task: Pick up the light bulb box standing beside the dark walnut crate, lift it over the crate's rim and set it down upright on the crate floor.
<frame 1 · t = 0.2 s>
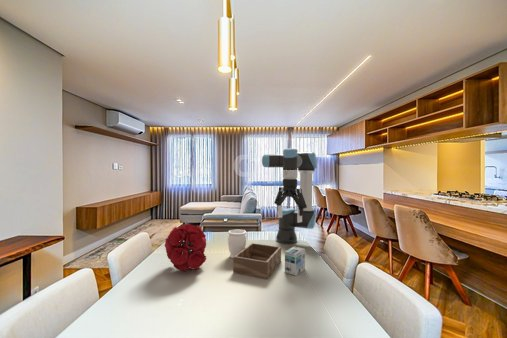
hand: (289, 219, 121), 26 cm above the table, tool pointing down, fingers open, 13 cm apart
jar: (236, 256, 139), on the table
walnut crate: (258, 266, 125), on the table
bouquet: (188, 266, 125), on the table
light bulb box: (294, 271, 121), on the table
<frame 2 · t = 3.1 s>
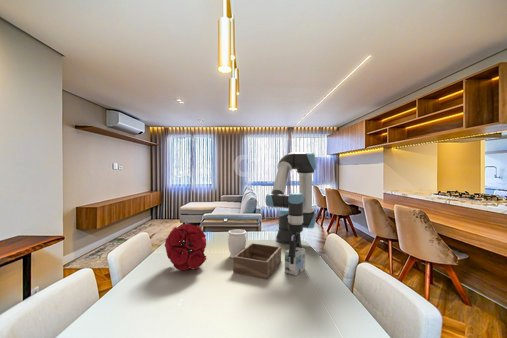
hand: (295, 265, 121), 3 cm above the table, tool pointing down, fingers closed on light bulb box, 12 cm apart
light bulb box: (294, 271, 121), on the table, touching gripper
everything else where it was.
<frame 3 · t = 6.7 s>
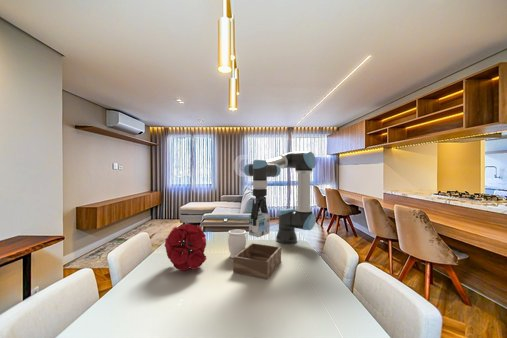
hand: (259, 229, 125), 20 cm above the table, tool pointing down, fingers closed on light bulb box, 11 cm apart
light bulb box: (259, 234, 125), point 17 cm above the table, touching gripper
everything else where it was.
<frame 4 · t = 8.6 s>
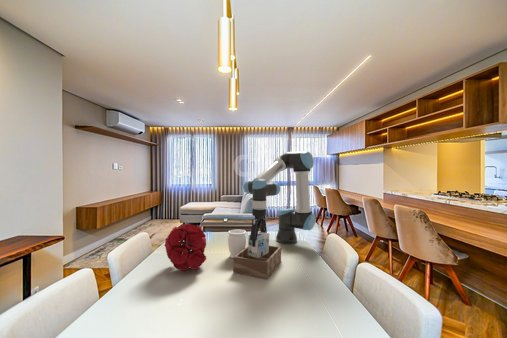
hand: (258, 249, 125), 9 cm above the table, tool pointing down, fingers closed on light bulb box, 11 cm apart
light bulb box: (258, 254, 125), point 6 cm above the table, touching gripper
everything else where it was.
when the fingers open (6 cm above the table, at t = 10.5 s): light bulb box drops 2 cm, resting on walnut crate.
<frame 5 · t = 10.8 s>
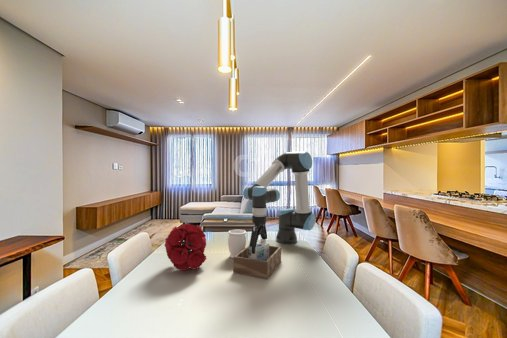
hand: (258, 254, 125), 6 cm above the table, tool pointing down, fingers open, 13 cm apart
light bulb box: (258, 264, 126), point 1 cm above the table, touching walnut crate
everything else where it was.
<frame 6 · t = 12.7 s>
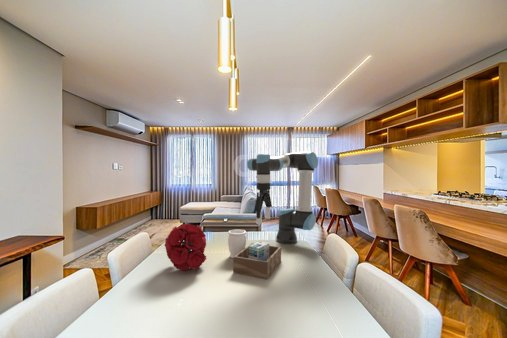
hand: (263, 221, 128), 24 cm above the table, tool pointing down, fingers open, 13 cm apart
nothing on the table moved.
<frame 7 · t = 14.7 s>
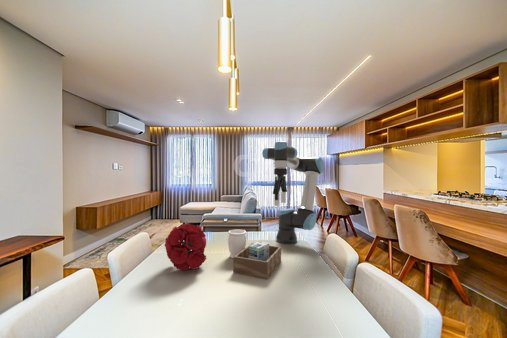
hand: (280, 204, 137), 32 cm above the table, tool pointing down, fingers open, 13 cm apart
nothing on the table moved.
at the end: light bulb box inside the target area on the walnut crate (0.3 cm from its centre), point 0.8 cm above the walnut crate's base; light bulb box tilted 0°; the gripper is holding nothing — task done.
